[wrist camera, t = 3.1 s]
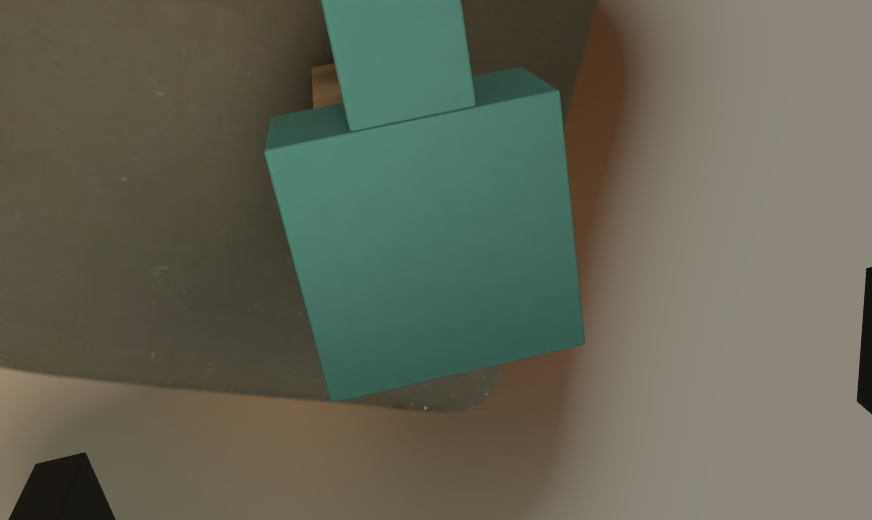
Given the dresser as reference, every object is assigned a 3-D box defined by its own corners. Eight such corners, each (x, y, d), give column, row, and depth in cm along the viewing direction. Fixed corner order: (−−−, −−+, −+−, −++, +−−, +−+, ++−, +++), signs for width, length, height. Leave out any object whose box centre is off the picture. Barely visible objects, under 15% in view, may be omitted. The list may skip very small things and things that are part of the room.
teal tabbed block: (508, -51, 20) (546, -47, 17) (548, 290, 24) (586, 345, 21) (238, 0, 19) (226, 14, 16) (327, 339, 24) (331, 404, 20)
